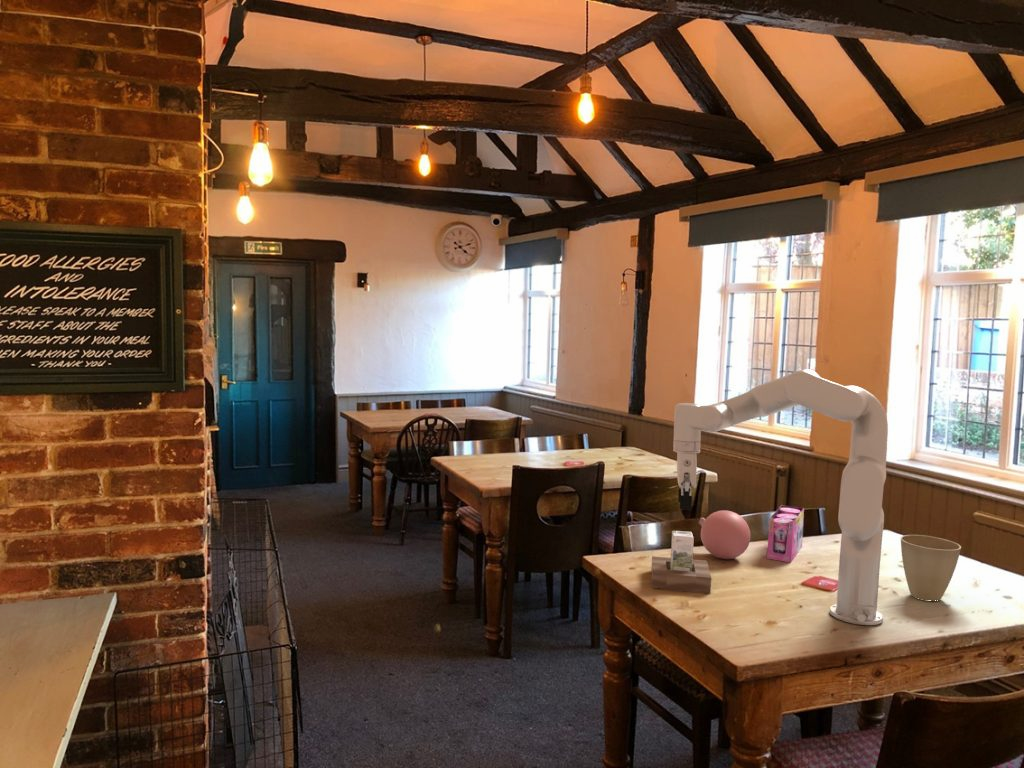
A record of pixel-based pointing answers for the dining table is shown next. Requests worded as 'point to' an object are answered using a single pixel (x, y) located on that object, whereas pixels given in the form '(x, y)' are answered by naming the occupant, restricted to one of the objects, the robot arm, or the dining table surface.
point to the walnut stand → (681, 576)
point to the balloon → (725, 534)
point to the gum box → (785, 533)
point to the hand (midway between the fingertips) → (684, 505)
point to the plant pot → (928, 565)
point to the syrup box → (682, 551)
